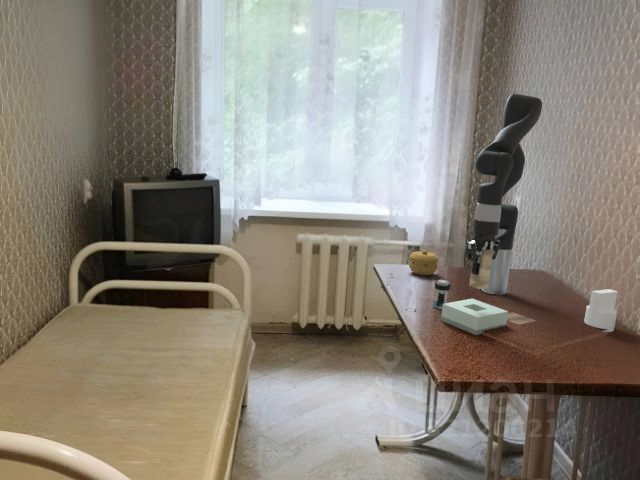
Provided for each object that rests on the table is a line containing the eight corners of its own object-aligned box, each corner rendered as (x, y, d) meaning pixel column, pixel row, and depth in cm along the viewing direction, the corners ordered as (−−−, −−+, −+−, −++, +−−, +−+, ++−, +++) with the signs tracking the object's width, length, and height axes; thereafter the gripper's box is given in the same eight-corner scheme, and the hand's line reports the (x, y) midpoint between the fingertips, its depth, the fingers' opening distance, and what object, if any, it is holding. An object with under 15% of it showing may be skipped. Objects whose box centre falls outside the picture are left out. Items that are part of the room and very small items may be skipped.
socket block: (440, 320, 189) (442, 303, 188) (470, 314, 197) (472, 298, 196) (476, 335, 178) (478, 317, 177) (505, 328, 186) (508, 311, 185)
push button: (452, 309, 201) (455, 281, 199) (451, 314, 196) (455, 285, 194) (432, 306, 202) (435, 278, 200) (430, 311, 197) (434, 282, 195)
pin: (469, 285, 185) (474, 247, 183) (477, 284, 188) (482, 247, 185) (479, 289, 182) (484, 250, 180) (488, 287, 185) (493, 249, 182)
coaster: (495, 318, 195) (495, 315, 194) (512, 315, 200) (512, 312, 200) (518, 327, 188) (519, 324, 187) (535, 323, 193) (536, 320, 193)
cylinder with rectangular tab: (601, 333, 188) (607, 296, 186) (577, 323, 196) (583, 288, 194) (620, 330, 193) (626, 294, 190) (596, 321, 200) (602, 286, 198)
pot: (430, 279, 238) (433, 255, 236) (403, 274, 244) (405, 250, 242) (440, 274, 248) (443, 250, 246) (414, 268, 254) (416, 245, 252)
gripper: (492, 215, 188) (485, 268, 191) (461, 217, 180) (455, 272, 183) (512, 219, 182) (504, 274, 185) (481, 221, 174) (474, 279, 177)
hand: (480, 273), depth 184 cm, fingers closed on pin, 4 cm apart
